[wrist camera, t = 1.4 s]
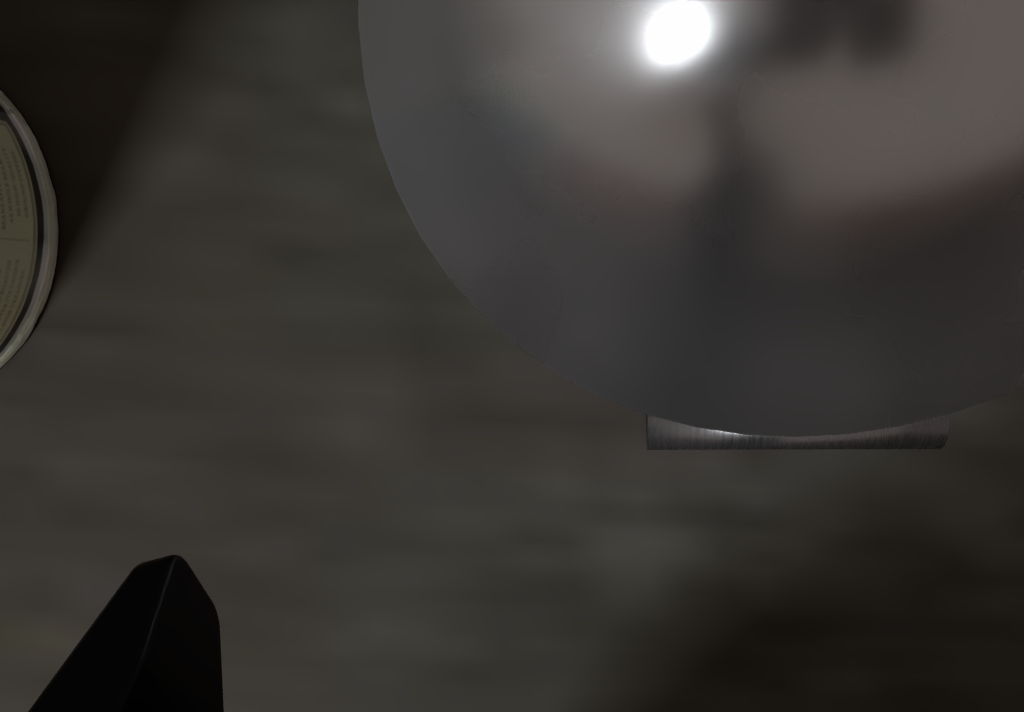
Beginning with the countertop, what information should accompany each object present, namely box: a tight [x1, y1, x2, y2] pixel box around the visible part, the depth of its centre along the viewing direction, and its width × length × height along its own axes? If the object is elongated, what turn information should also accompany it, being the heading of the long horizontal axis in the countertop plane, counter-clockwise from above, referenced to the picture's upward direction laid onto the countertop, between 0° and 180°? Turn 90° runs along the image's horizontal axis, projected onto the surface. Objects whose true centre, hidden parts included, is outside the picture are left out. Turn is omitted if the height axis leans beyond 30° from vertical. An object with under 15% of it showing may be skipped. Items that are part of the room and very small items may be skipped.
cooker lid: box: [358, 0, 1024, 450], centre depth 13 cm, size 14×13×2 cm
